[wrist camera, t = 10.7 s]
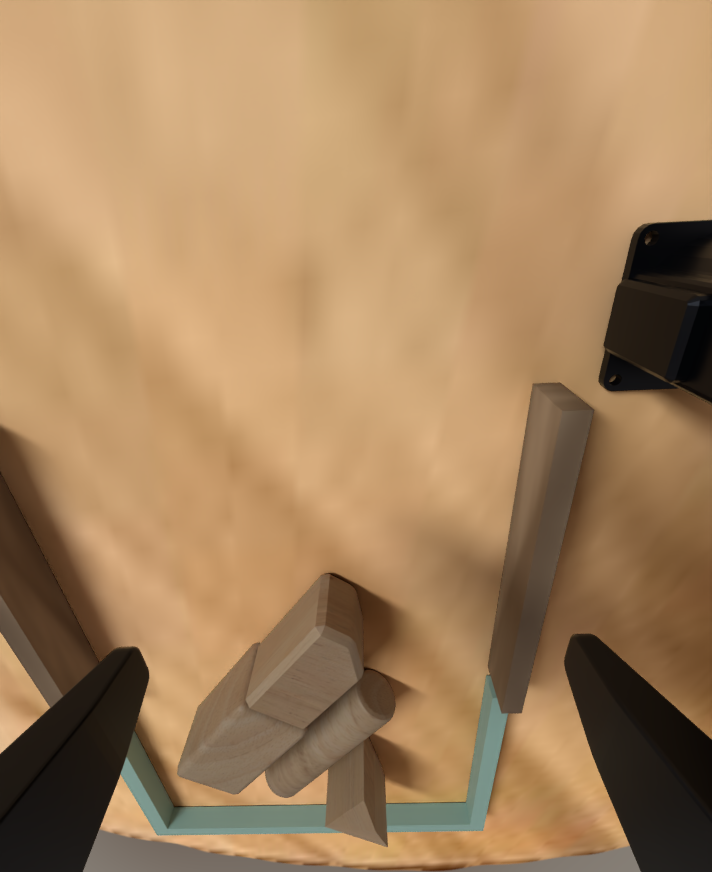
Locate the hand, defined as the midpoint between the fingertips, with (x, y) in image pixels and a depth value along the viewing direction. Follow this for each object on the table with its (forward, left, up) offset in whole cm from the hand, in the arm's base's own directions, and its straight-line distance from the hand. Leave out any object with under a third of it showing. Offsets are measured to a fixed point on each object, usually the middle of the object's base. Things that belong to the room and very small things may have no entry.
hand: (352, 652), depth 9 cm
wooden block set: (+1, +22, -13) cm, 25 cm away
